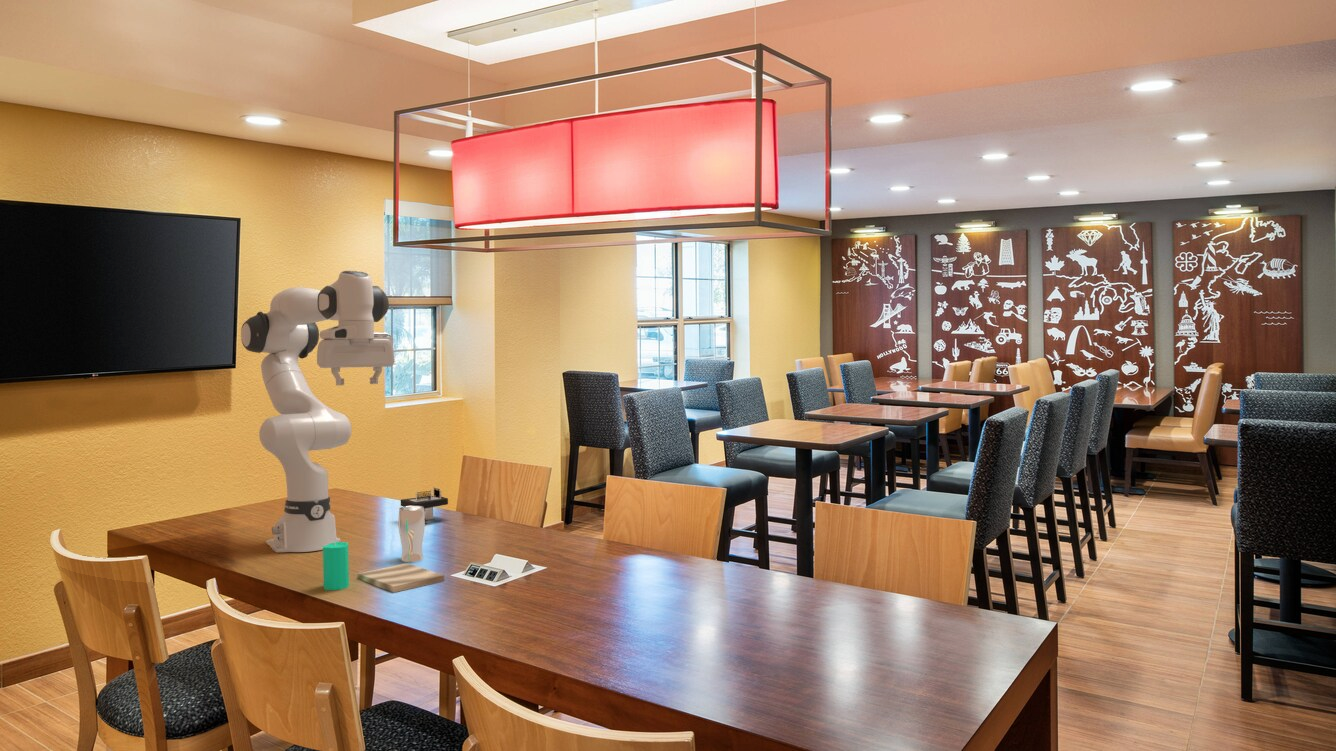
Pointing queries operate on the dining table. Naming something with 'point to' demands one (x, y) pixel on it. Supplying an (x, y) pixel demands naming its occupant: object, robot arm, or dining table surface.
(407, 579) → the birch board
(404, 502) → the black-topped pedestal
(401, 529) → the beer glass
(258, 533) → the dining table surface
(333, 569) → the candle
